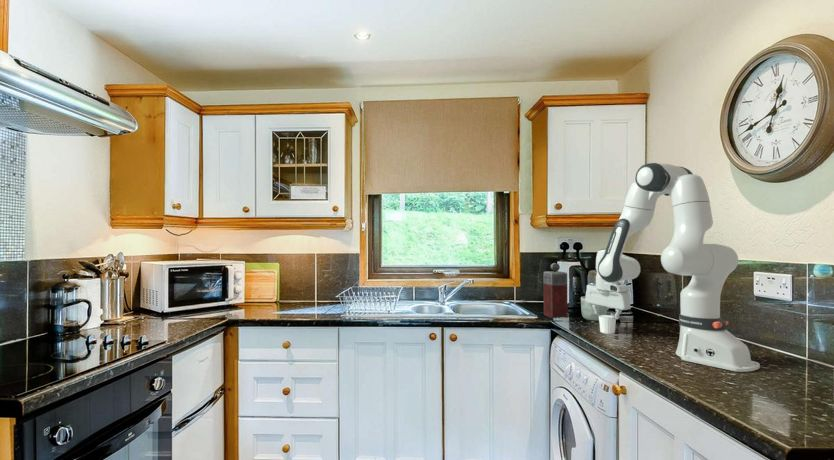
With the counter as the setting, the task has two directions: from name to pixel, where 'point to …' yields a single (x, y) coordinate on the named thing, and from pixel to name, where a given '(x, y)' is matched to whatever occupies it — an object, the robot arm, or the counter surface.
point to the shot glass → (607, 324)
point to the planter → (591, 310)
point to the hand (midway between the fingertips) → (606, 316)
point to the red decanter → (555, 292)
